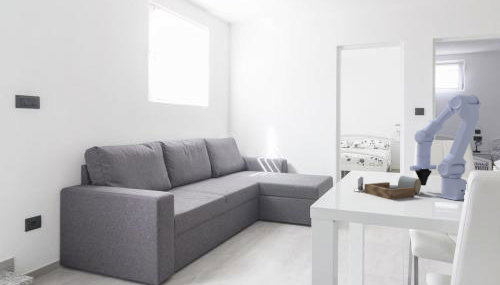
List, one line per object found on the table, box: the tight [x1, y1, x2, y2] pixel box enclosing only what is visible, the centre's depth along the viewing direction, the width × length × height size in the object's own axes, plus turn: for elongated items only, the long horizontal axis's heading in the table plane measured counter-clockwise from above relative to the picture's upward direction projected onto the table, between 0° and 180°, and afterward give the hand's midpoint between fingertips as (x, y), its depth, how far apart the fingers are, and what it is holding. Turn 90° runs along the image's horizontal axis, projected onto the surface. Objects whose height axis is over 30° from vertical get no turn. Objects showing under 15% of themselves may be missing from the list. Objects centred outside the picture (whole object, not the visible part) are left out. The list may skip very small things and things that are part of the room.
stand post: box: [353, 176, 364, 193], centre depth 172 cm, size 6×6×7 cm
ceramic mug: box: [397, 175, 422, 195], centre depth 168 cm, size 11×8×8 cm
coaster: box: [390, 184, 398, 189], centre depth 180 cm, size 9×9×1 cm
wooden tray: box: [363, 181, 415, 200], centre depth 163 cm, size 16×14×4 cm
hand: (422, 185), depth 171 cm, fingers closed
